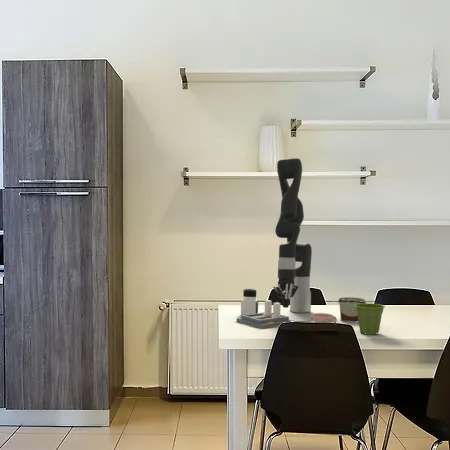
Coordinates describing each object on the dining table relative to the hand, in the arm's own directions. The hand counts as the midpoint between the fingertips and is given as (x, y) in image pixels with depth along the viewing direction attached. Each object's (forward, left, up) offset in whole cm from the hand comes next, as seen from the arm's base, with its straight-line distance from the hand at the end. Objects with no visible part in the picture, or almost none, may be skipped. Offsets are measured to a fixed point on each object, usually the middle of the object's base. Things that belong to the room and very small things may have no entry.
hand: (285, 307), depth 246 cm
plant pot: (-14, +34, -7) cm, 38 cm away
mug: (-4, +19, -7) cm, 21 cm away
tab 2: (+5, 0, -5) cm, 7 cm away
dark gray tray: (+9, -3, -7) cm, 11 cm away
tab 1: (+4, -7, -5) cm, 9 cm away
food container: (-29, +12, -7) cm, 33 cm away
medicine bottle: (+3, -22, -7) cm, 23 cm away
